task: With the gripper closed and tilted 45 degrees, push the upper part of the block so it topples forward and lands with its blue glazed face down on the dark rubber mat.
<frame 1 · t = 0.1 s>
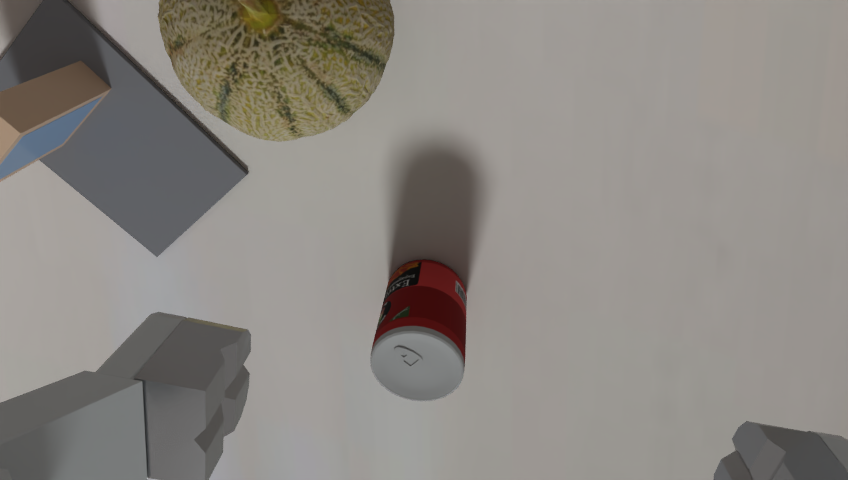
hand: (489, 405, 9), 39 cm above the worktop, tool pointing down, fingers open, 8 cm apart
mat: (113, 137, 50), on the worktop
canned food: (427, 289, 56), on the worktop
block: (71, 104, 49), resting on mat
cantaloupe: (311, 10, 44), on the worktop
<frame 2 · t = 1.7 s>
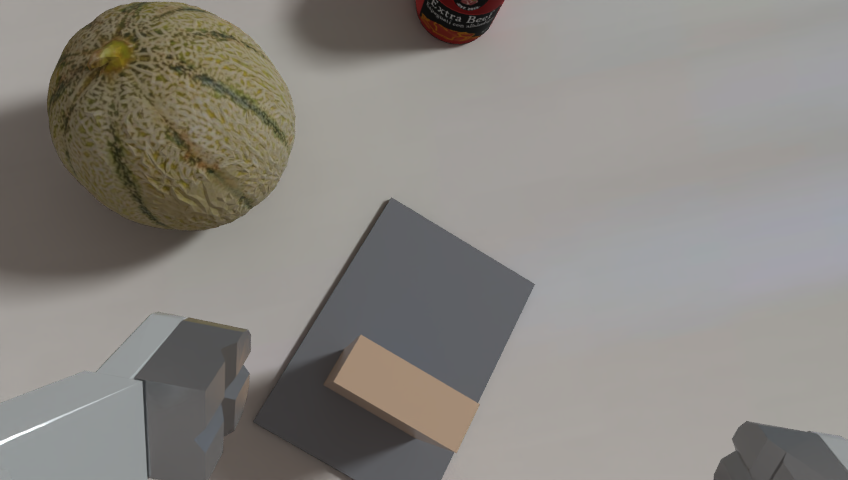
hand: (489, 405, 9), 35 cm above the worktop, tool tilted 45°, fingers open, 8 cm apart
mat: (404, 347, 44), on the worktop
canned food: (452, 11, 54), on the worktop
block: (379, 393, 43), resting on mat
cantaloupe: (197, 163, 45), on the worktop
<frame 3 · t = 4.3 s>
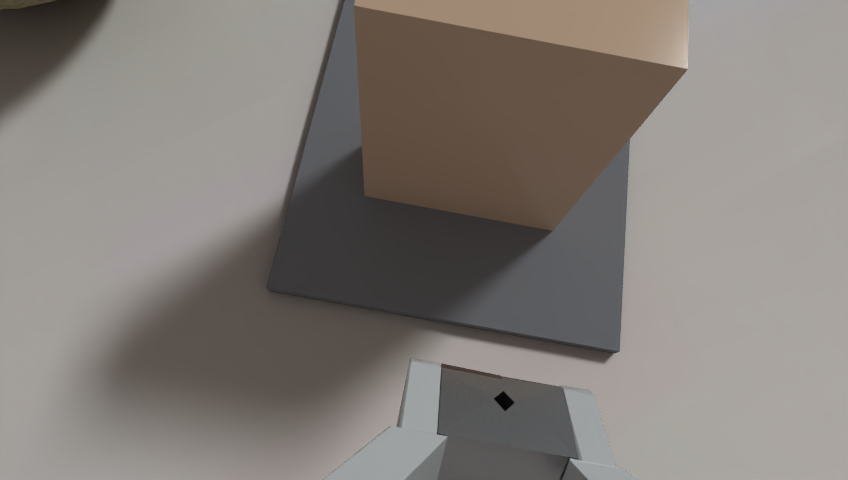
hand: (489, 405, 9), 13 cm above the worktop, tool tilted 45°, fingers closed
mat: (476, 109, 26), on the worktop
block: (464, 181, 24), resting on mat
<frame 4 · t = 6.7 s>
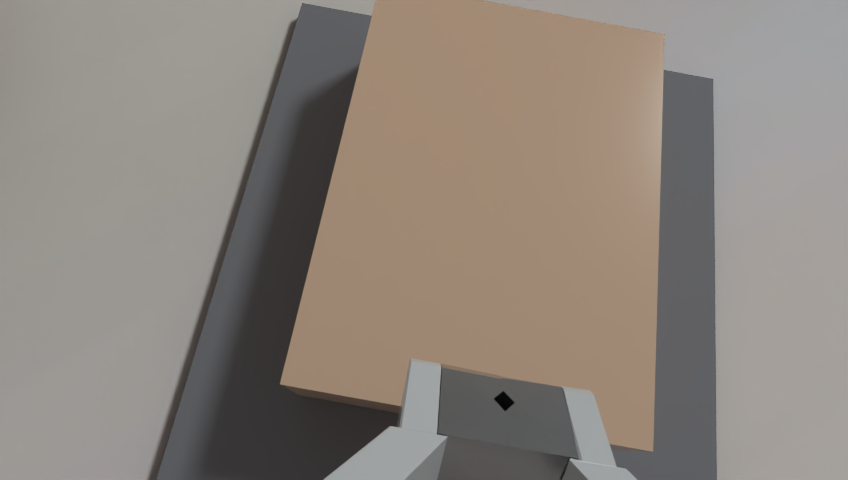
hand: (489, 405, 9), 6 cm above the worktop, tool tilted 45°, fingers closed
mat: (463, 337, 16), on the worktop
block: (458, 420, 13), point 2 cm above the worktop, tilted 90°, touching mat
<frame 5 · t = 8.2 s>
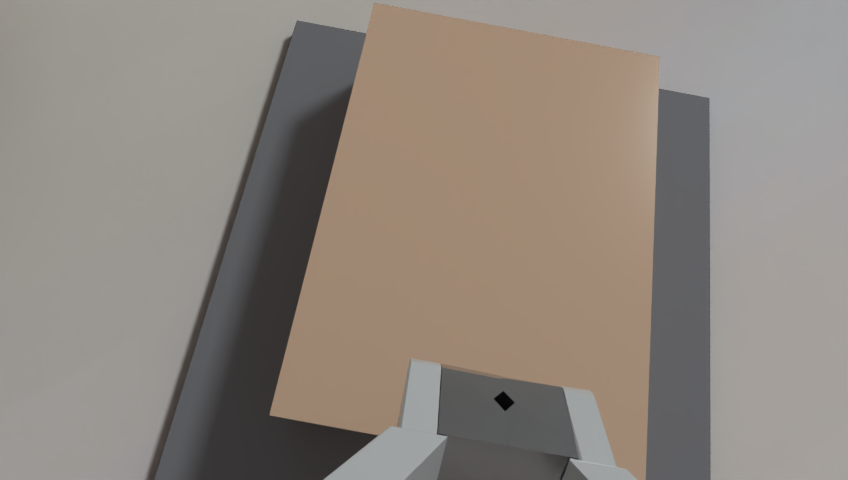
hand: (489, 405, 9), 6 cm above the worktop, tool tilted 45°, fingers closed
mat: (456, 360, 16), on the worktop
block: (449, 449, 13), point 2 cm above the worktop, tilted 90°, touching mat
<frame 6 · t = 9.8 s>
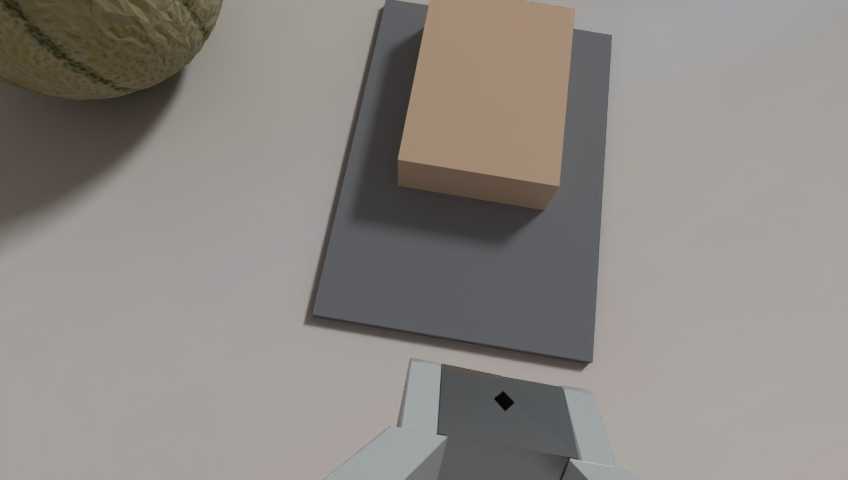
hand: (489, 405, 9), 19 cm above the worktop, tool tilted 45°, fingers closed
mat: (476, 164, 32), on the worktop
block: (474, 186, 29), point 2 cm above the worktop, tilted 90°, touching mat
cantaloupe: (132, 44, 34), on the worktop
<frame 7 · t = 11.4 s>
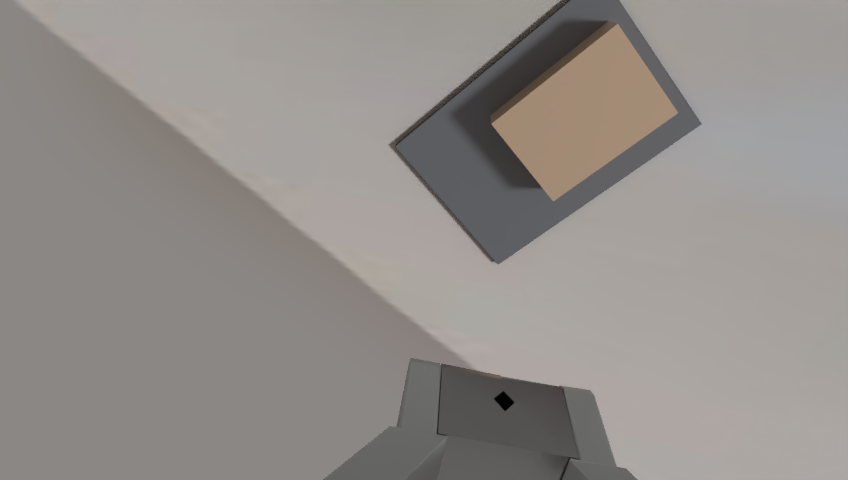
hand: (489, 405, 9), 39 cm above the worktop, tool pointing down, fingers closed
mat: (543, 134, 46), on the worktop
block: (521, 158, 45), point 2 cm above the worktop, tilted 90°, touching mat
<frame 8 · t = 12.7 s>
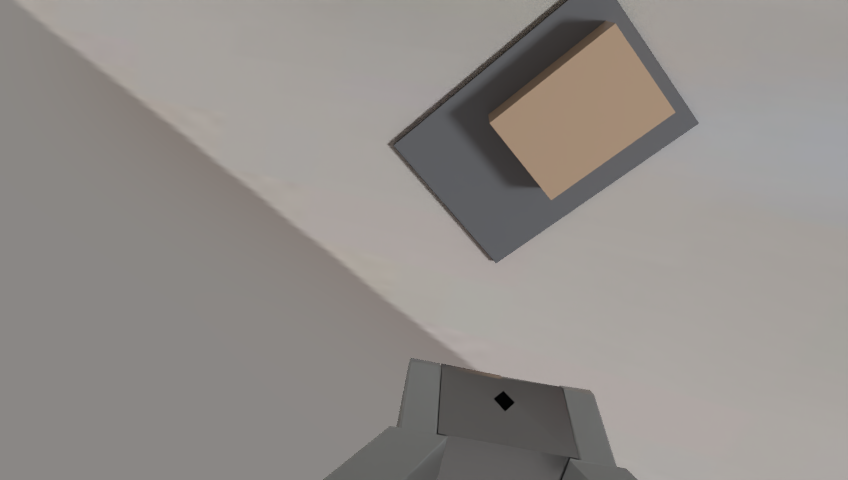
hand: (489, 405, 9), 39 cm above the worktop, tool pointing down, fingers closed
mat: (541, 133, 47), on the worktop
block: (519, 157, 45), point 2 cm above the worktop, tilted 90°, touching mat
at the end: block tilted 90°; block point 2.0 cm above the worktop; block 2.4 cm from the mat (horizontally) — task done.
